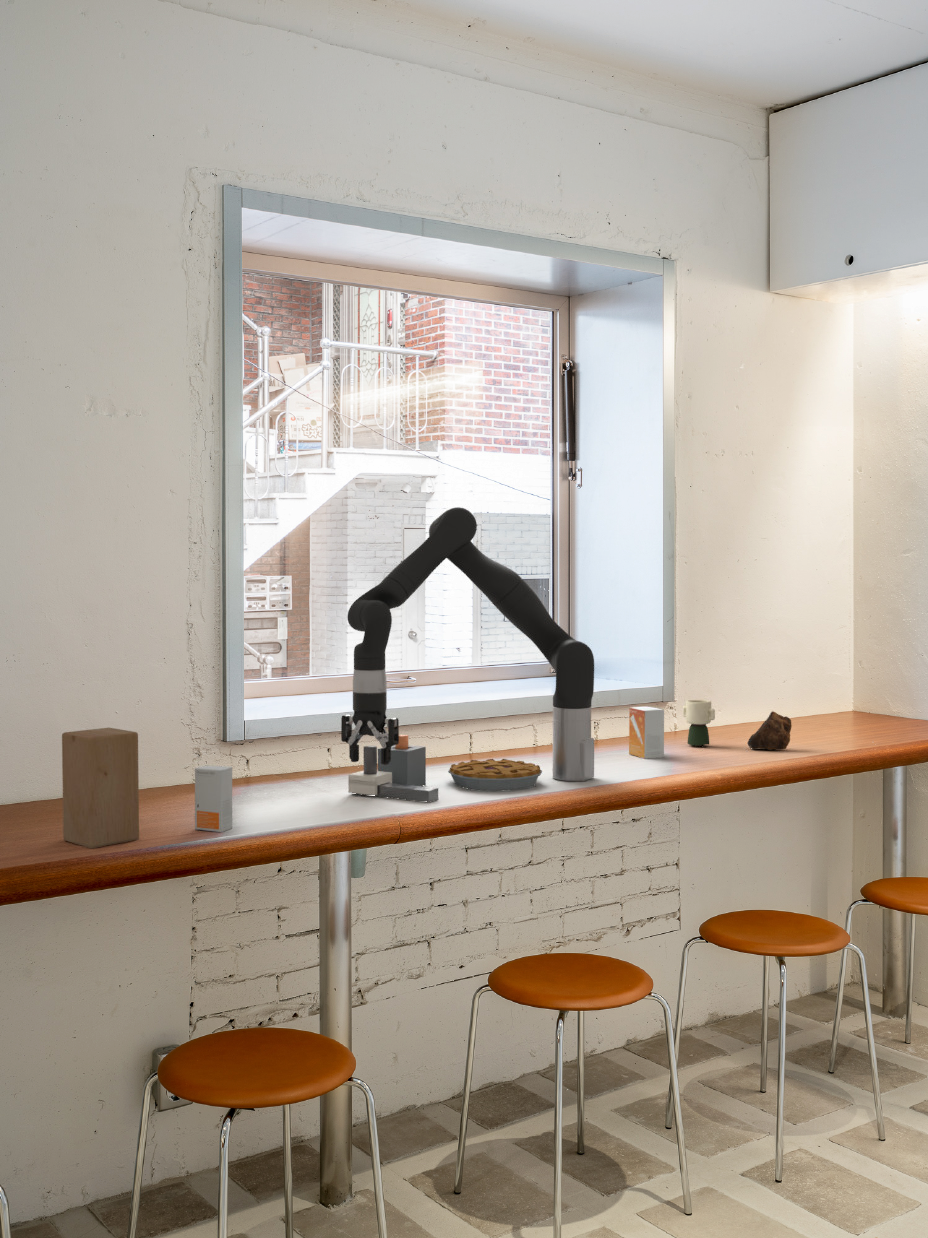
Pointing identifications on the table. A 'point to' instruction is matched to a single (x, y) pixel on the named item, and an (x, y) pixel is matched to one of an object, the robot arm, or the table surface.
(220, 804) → the skincare box
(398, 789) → the rail
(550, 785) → the table surface
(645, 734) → the small box
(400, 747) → the button
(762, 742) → the decorative rock
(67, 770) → the wooden block
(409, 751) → the grey cube-like block
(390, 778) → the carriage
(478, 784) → the pie
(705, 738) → the character mug
